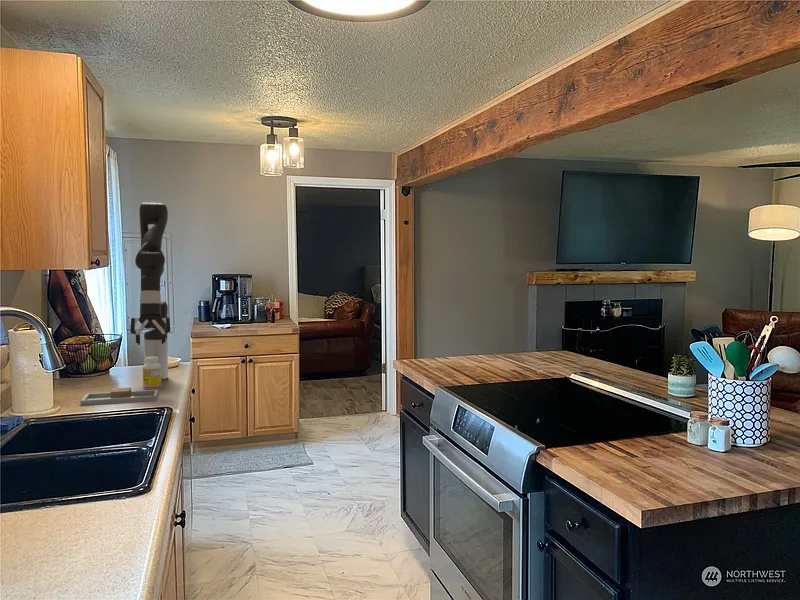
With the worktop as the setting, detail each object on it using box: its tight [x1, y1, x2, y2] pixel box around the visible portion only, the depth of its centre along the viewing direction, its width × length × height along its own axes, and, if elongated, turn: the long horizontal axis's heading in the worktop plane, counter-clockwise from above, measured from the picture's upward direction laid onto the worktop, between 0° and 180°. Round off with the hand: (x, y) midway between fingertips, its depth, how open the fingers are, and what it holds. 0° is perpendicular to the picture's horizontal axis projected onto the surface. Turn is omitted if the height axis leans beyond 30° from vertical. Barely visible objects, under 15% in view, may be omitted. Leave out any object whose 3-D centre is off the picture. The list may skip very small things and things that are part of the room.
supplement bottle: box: [142, 356, 162, 390], centre depth 229 cm, size 7×7×13 cm
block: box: [110, 386, 132, 398], centre depth 210 cm, size 6×6×4 cm
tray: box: [80, 389, 159, 406], centre depth 210 cm, size 11×24×2 cm, turn 109°
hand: (150, 344), depth 227 cm, fingers open, 8 cm apart
